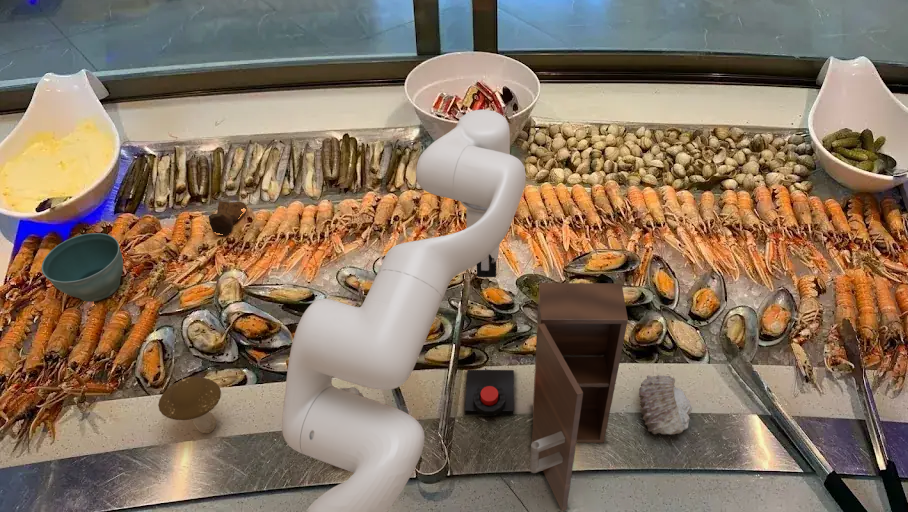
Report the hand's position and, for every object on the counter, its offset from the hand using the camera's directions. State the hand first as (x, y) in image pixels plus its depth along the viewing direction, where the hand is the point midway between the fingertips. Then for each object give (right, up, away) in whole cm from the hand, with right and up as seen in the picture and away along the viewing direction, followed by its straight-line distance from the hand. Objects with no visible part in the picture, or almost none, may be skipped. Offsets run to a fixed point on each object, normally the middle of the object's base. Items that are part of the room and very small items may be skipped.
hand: (486, 273), depth 111 cm
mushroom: (-57, -33, +23) cm, 70 cm away
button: (0, -27, +25) cm, 37 cm away
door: (+9, -41, +14) cm, 44 cm away
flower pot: (-96, -7, +50) cm, 109 cm away
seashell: (+36, -31, +26) cm, 54 cm away
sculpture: (-73, +8, +68) cm, 100 cm away
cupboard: (+16, -33, +24) cm, 43 cm away
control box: (0, -28, +29) cm, 40 cm away
